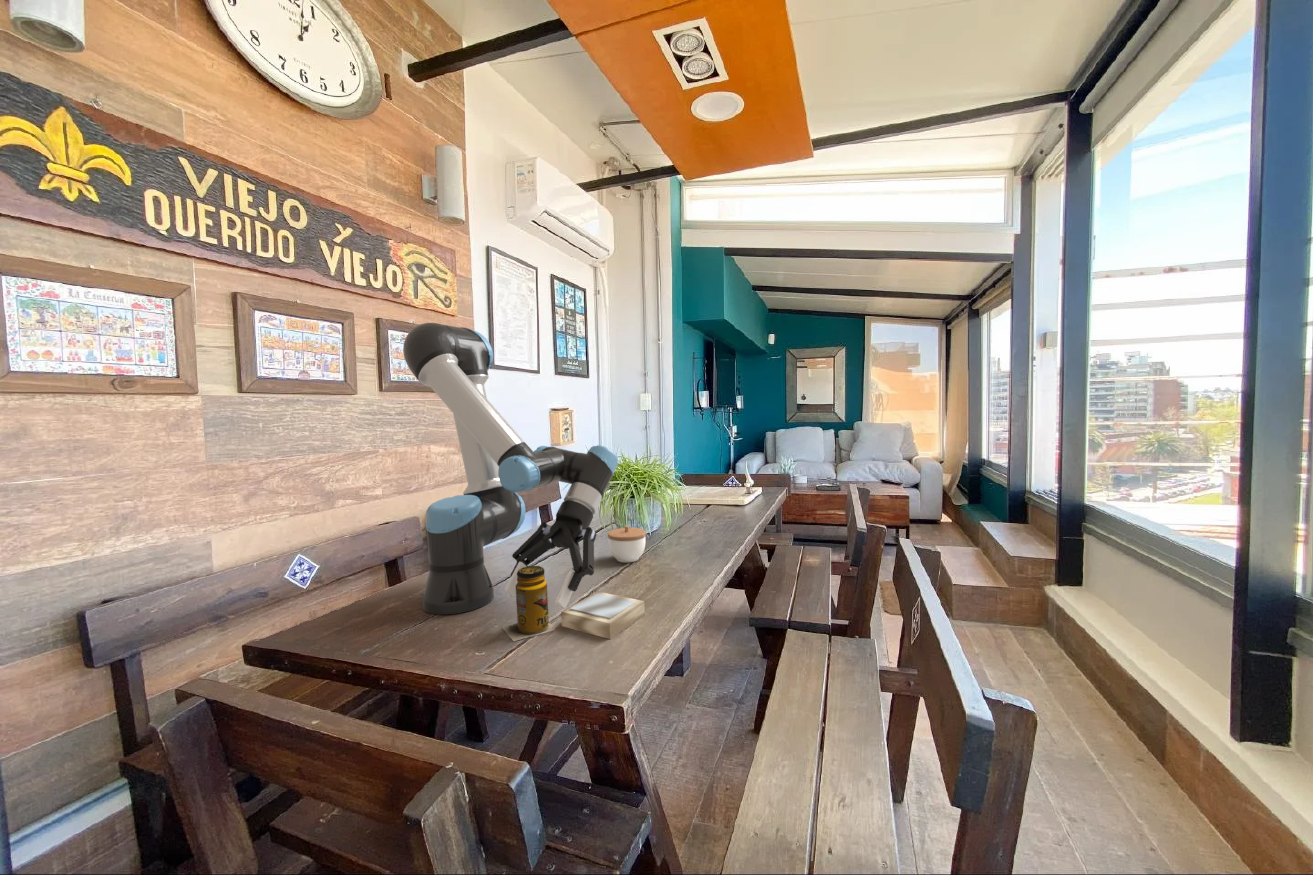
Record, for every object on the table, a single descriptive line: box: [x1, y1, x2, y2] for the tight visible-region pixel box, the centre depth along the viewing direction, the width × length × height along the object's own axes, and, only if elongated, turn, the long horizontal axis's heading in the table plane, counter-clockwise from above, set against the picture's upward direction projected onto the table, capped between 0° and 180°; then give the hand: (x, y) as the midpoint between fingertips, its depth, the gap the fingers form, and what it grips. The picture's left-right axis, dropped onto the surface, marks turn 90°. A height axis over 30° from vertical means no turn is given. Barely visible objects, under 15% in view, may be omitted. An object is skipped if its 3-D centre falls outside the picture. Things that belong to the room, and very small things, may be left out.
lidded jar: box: [607, 525, 647, 564], centre depth 145 cm, size 11×11×9 cm
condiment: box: [501, 565, 556, 642], centre depth 101 cm, size 7×8×12 cm
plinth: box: [560, 591, 646, 640], centre depth 104 cm, size 12×12×3 cm
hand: (533, 599), depth 101 cm, fingers open, 13 cm apart
